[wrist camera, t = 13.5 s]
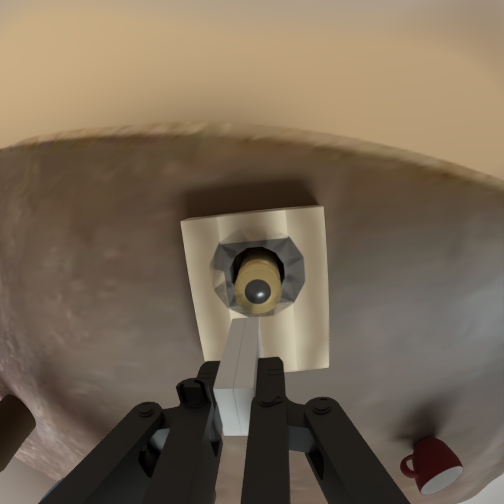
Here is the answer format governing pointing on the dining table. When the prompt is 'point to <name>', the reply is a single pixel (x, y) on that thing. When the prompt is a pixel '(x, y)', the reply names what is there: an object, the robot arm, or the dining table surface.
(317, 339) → the jig
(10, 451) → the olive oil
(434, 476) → the mug
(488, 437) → the dining table surface
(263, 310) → the cylinder with metal cap
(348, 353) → the dining table surface
